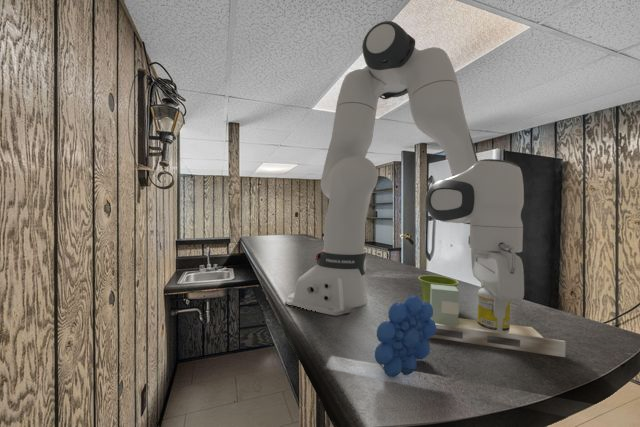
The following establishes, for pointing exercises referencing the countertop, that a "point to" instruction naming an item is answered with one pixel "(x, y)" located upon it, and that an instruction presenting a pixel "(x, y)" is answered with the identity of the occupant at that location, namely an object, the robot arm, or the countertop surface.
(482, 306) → the supplement bottle
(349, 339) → the countertop surface
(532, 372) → the countertop surface
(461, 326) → the shelf board
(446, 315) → the sage tin
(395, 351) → the grapes
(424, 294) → the plant pot
